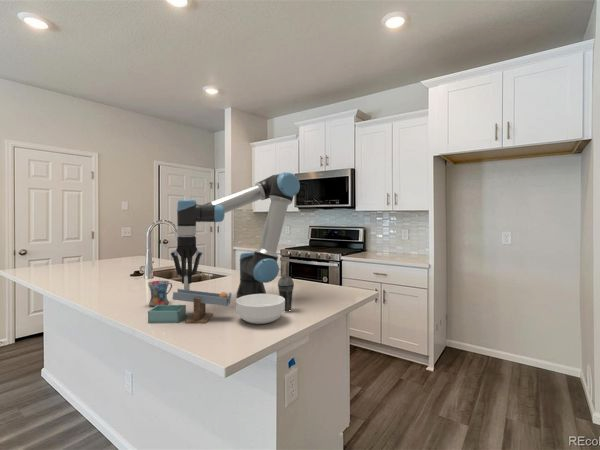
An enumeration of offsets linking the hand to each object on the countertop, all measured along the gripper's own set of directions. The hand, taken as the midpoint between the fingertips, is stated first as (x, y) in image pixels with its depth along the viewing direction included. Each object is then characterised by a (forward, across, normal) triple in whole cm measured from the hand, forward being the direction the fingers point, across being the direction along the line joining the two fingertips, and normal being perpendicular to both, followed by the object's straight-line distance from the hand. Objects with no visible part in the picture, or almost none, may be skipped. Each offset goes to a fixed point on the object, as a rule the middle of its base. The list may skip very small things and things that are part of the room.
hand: (186, 291), depth 140 cm
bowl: (+10, -32, +8) cm, 35 cm away
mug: (+10, +17, -16) cm, 25 cm away
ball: (+1, -17, +6) cm, 18 cm away
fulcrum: (+10, -7, +6) cm, 14 cm away
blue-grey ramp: (+3, -8, +3) cm, 9 cm away
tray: (+10, +6, +6) cm, 13 cm away
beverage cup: (+10, -42, -5) cm, 44 cm away
